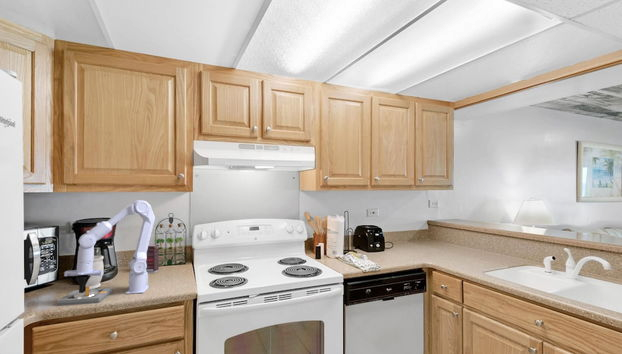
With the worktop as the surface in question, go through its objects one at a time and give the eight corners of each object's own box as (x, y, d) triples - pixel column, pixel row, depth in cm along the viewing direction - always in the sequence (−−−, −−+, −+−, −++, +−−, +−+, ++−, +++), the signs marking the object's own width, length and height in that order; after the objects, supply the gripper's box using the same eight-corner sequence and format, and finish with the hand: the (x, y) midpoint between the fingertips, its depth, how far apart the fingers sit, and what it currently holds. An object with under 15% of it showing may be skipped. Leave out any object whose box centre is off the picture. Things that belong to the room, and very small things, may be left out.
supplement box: (158, 270, 180) (159, 244, 181) (154, 273, 175) (154, 246, 176) (145, 270, 181) (145, 244, 181) (140, 272, 176) (140, 245, 176)
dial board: (74, 294, 140) (74, 289, 140) (112, 292, 143) (112, 287, 144) (57, 305, 128) (57, 299, 128) (98, 302, 131) (98, 297, 131)
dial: (73, 296, 136) (73, 284, 136) (97, 291, 142) (97, 280, 142) (74, 301, 129) (74, 289, 129) (99, 296, 135) (99, 284, 135)
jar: (104, 287, 150) (105, 257, 150) (78, 292, 143) (79, 261, 144) (101, 282, 158) (102, 254, 158) (76, 287, 151) (77, 257, 152)
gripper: (61, 263, 128) (58, 295, 127) (99, 263, 131) (96, 294, 130) (70, 259, 135) (68, 290, 134) (106, 259, 138) (104, 289, 137)
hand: (82, 292), depth 132 cm, fingers closed, pressing on dial
